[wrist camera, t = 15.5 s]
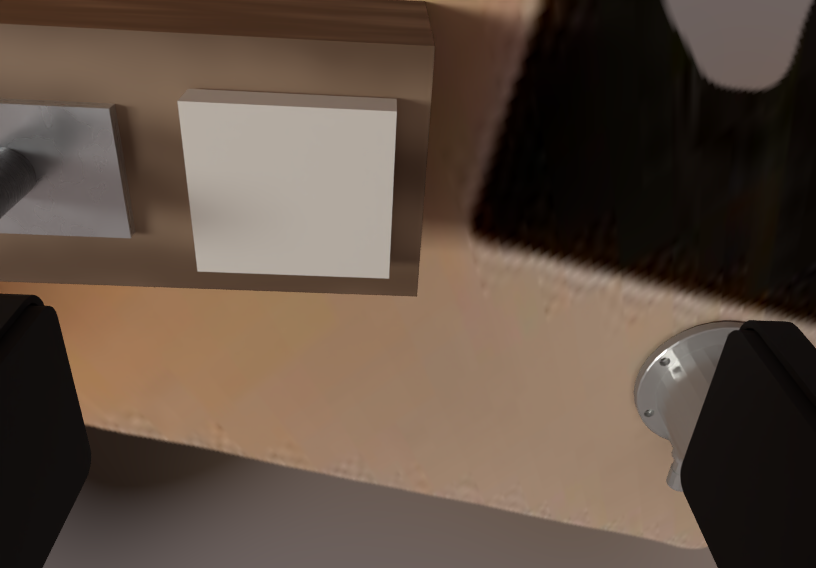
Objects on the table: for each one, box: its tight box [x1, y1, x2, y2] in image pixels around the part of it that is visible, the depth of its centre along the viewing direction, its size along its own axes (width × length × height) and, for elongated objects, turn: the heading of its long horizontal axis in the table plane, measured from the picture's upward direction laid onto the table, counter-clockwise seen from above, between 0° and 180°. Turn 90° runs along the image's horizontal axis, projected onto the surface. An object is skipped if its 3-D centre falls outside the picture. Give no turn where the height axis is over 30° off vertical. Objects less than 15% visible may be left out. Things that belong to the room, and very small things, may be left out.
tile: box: [177, 89, 397, 279], centre depth 35 cm, size 9×2×10 cm
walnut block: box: [0, 0, 435, 296], centre depth 41 cm, size 14×28×12 cm, turn 87°
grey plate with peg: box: [0, 98, 136, 238], centre depth 31 cm, size 7×7×11 cm
